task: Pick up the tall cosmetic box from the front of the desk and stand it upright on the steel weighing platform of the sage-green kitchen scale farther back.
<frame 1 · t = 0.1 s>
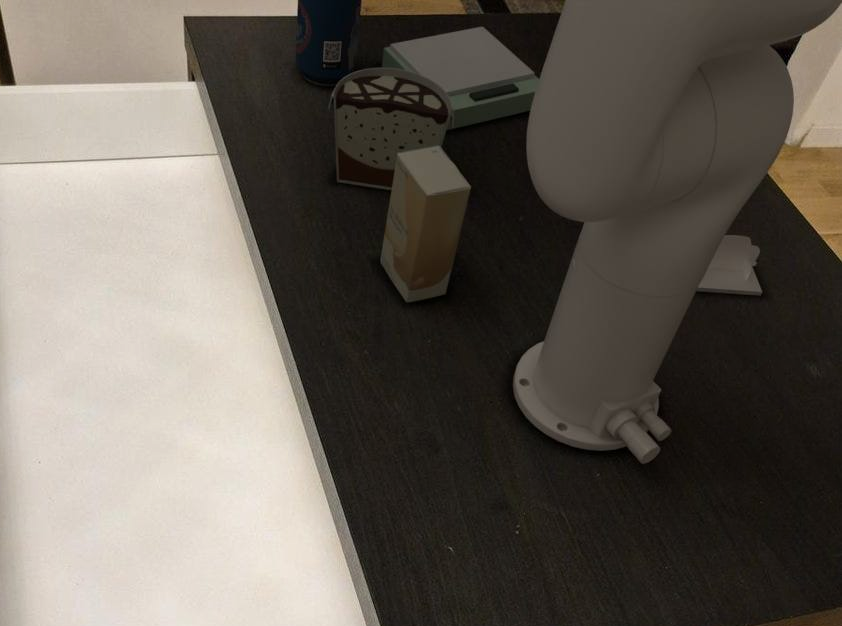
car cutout: (679, 269, 95), on the table
scale: (462, 87, 111), on the table
light bulb: (574, 162, 105), on the table
food container: (384, 173, 100), on the table
cosmetic box: (413, 281, 90), on the table
soda can: (325, 74, 110), on the table
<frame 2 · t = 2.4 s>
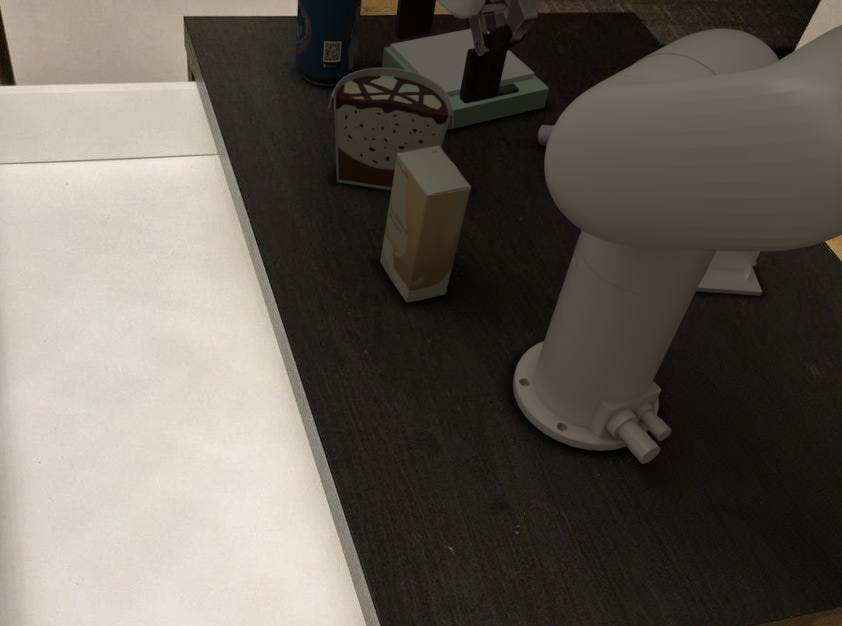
hand: (444, 65, 74), 21 cm above the table, tool pointing down, fingers open, 9 cm apart
nothing on the table moved.
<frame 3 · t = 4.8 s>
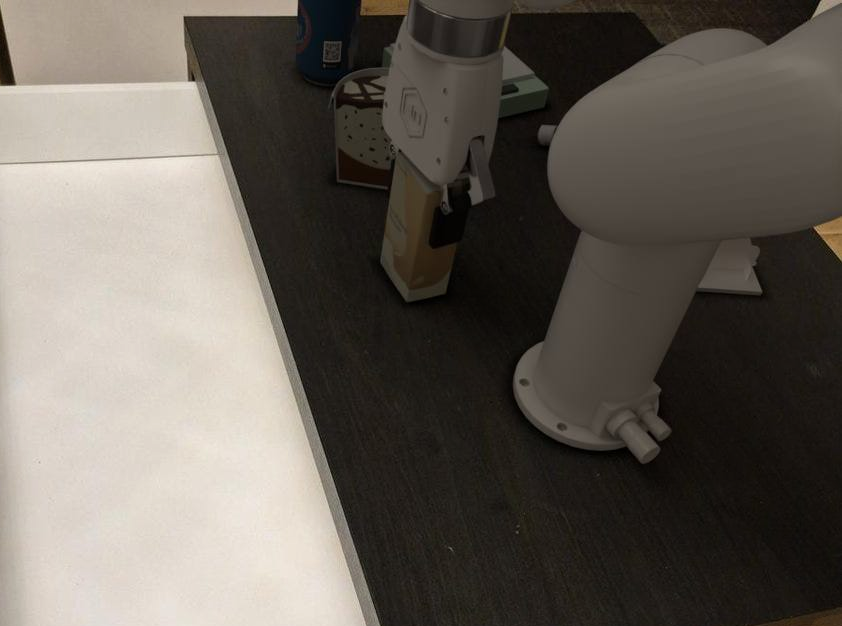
hand: (423, 217, 84), 7 cm above the table, tool pointing down, fingers closed on cosmetic box, 6 cm apart
cosmetic box: (413, 281, 90), on the table, touching gripper
everything else where it was.
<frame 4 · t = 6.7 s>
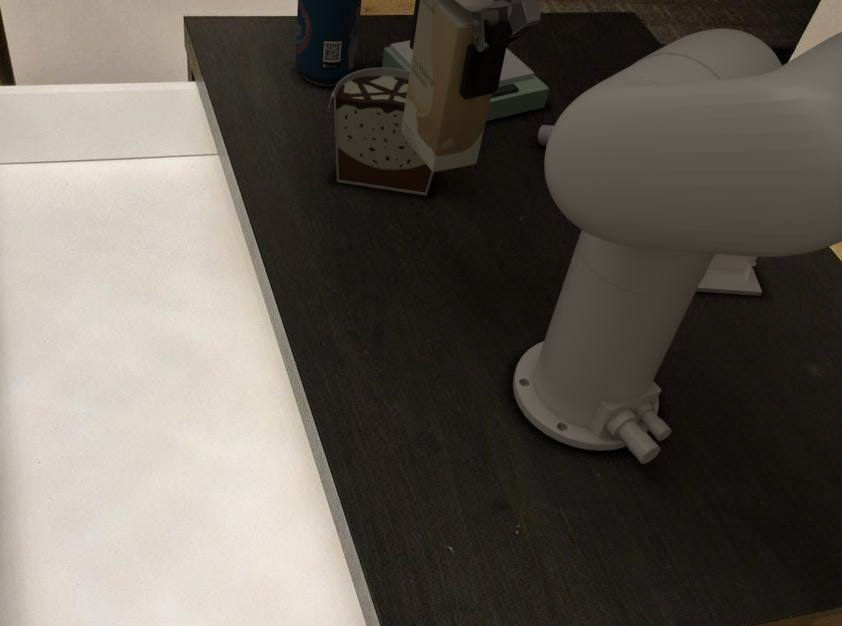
hand: (452, 68, 74), 21 cm above the table, tool pointing down, fingers closed on cosmetic box, 6 cm apart
cosmetic box: (438, 151, 79), point 14 cm above the table, touching gripper
everything else where it was.
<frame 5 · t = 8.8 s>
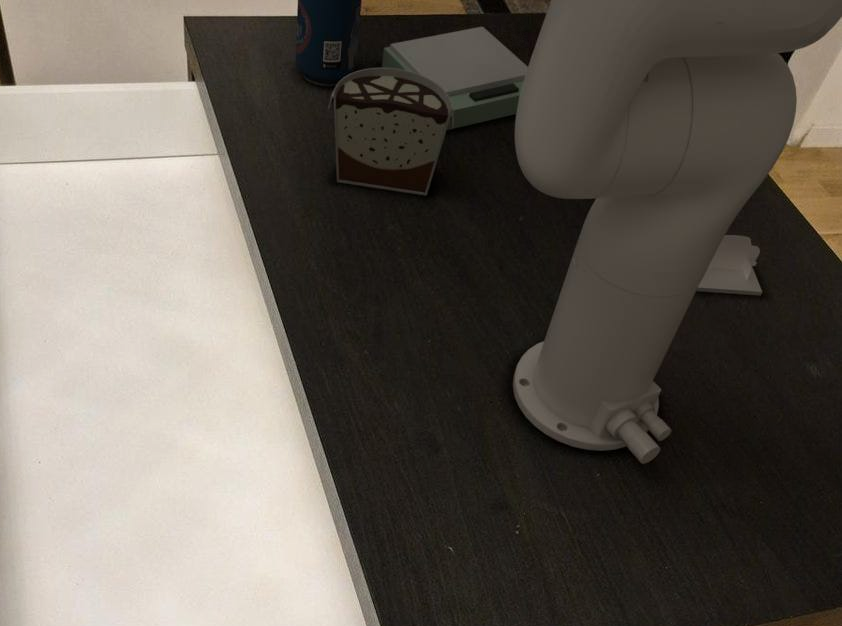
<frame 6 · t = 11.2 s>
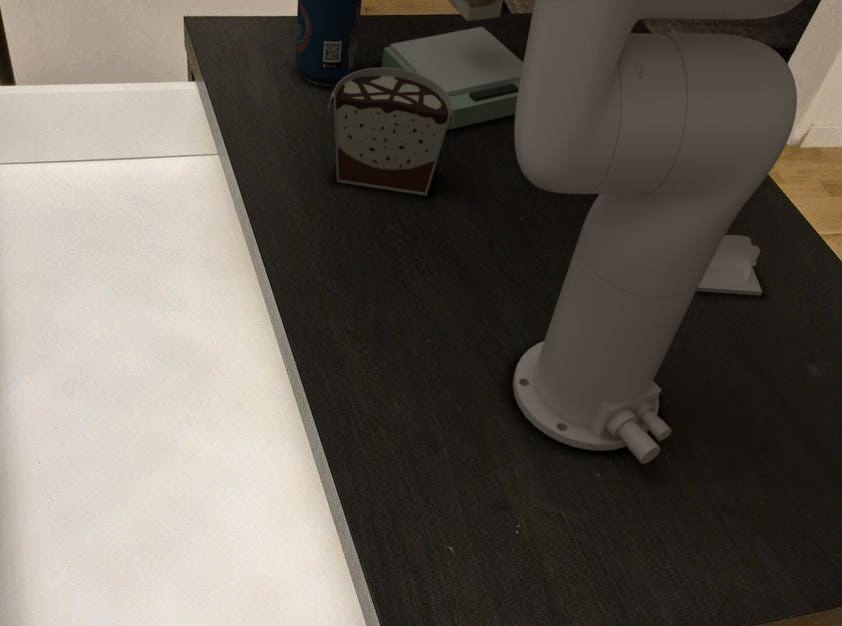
cosmetic box: (471, 9, 105), point 9 cm above the table, touching gripper
everything else where it was.
when the fingers open (10 cm above the table, at t = 13.1 s): cosmetic box stays where it is, resting on scale.
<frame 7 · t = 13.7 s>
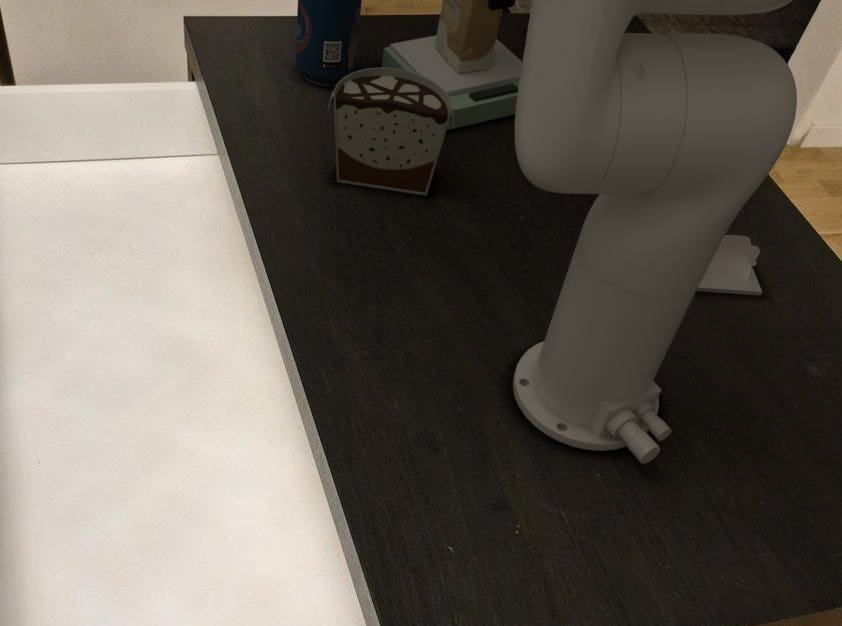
cosmetic box: (461, 60, 110), point 3 cm above the table, touching scale
everything else where it was.
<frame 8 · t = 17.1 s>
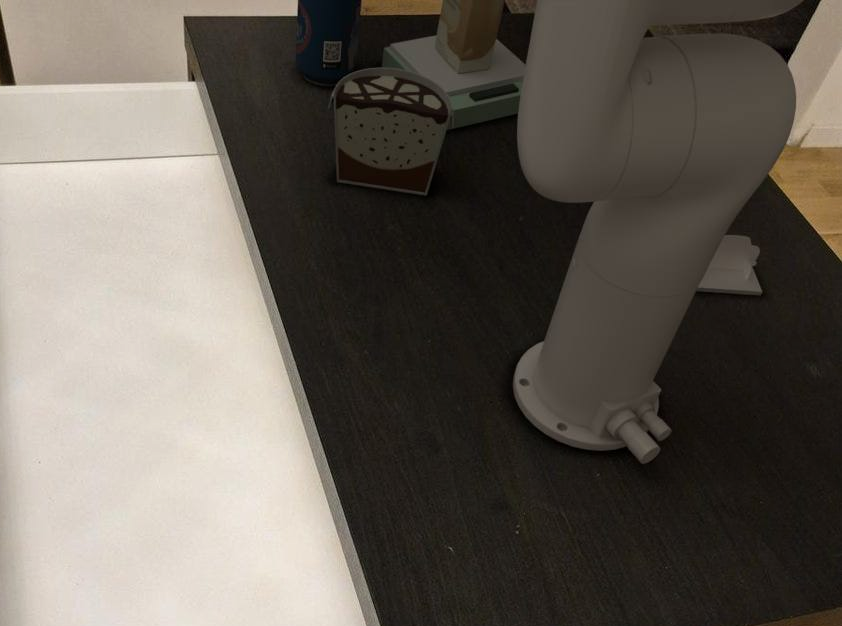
nothing on the table moved.
at the end: cosmetic box inside the target area on the scale (0.1 cm from its centre), point 2.8 cm above the scale's base; cosmetic box tilted 0° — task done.
